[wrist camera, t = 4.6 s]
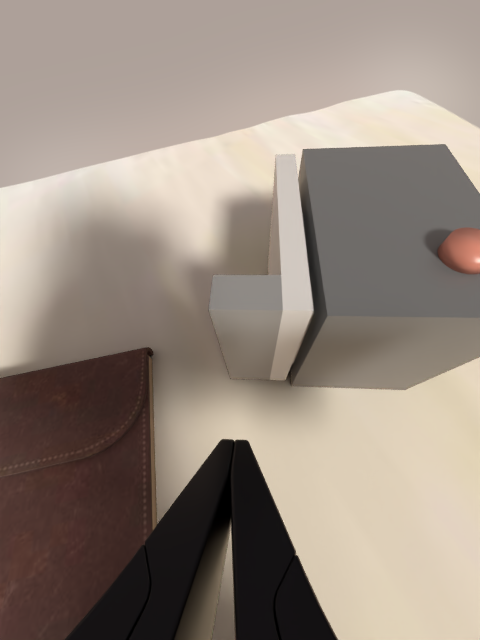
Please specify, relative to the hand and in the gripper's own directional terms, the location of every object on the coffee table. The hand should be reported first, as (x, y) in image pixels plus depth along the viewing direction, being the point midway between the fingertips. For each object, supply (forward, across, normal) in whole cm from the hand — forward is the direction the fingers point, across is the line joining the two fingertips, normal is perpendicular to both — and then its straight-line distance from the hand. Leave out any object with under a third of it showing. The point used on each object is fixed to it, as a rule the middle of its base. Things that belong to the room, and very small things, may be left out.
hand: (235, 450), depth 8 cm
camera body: (+11, -6, -1) cm, 13 cm away
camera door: (+11, -1, -1) cm, 11 cm away
